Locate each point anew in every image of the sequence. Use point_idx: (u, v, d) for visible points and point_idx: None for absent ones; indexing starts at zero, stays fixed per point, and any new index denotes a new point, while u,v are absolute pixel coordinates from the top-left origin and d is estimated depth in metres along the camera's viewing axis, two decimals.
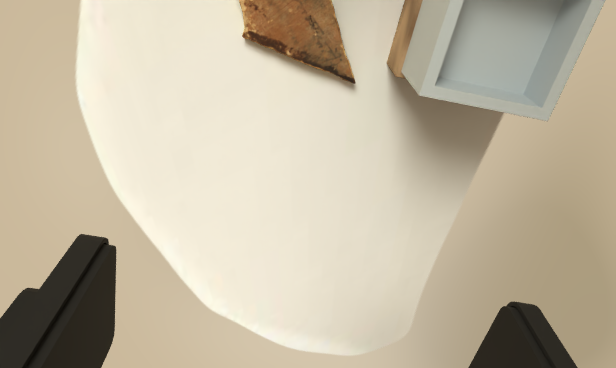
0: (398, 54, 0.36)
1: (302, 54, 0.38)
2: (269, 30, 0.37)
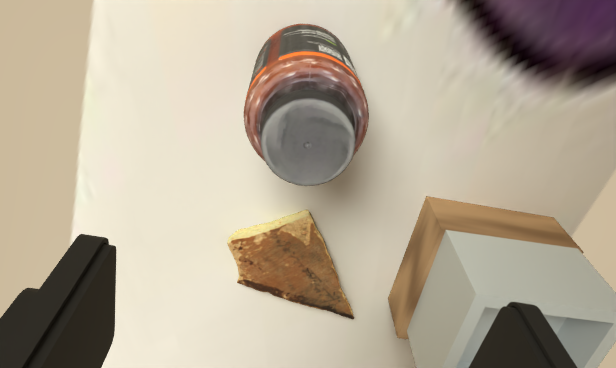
0: (400, 312, 0.35)
1: (299, 297, 0.37)
2: (265, 279, 0.36)
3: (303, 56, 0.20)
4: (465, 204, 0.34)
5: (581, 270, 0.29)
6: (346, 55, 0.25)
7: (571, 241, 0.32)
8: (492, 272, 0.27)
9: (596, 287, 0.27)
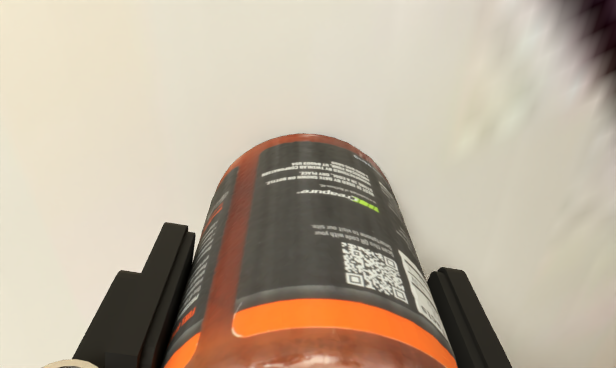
0: None
1: None
2: None
3: (303, 339, 0.07)
4: None
5: None
6: (400, 229, 0.11)
7: None
8: None
9: None
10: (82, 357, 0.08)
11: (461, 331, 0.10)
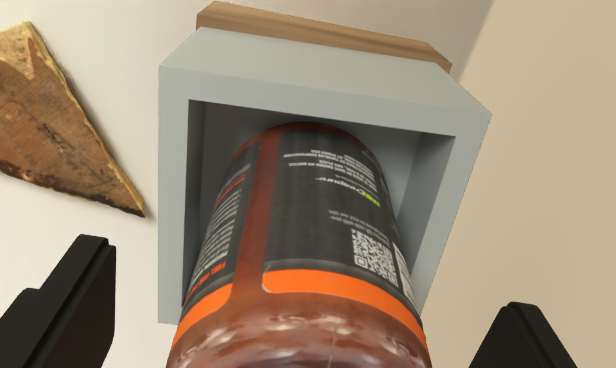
0: None
1: (48, 178, 0.24)
2: None
3: (321, 302, 0.09)
4: (279, 14, 0.21)
5: (423, 74, 0.16)
6: (393, 223, 0.13)
7: (438, 56, 0.19)
8: (233, 56, 0.14)
9: (436, 87, 0.15)
10: None
11: None
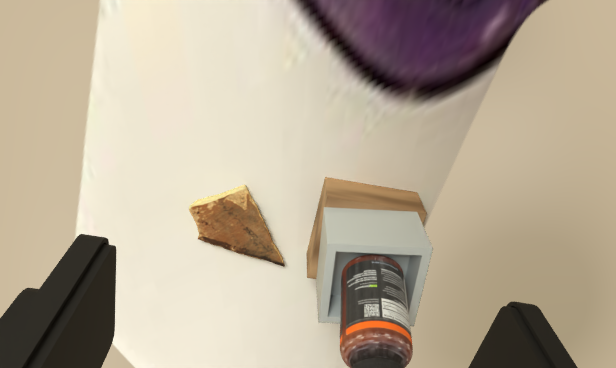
0: (309, 260, 0.49)
1: (243, 249, 0.51)
2: (217, 236, 0.50)
3: (356, 332, 0.36)
4: (353, 182, 0.48)
5: (411, 225, 0.43)
6: (385, 287, 0.39)
7: (421, 207, 0.47)
8: (345, 230, 0.42)
9: (415, 234, 0.42)
10: None
11: None
